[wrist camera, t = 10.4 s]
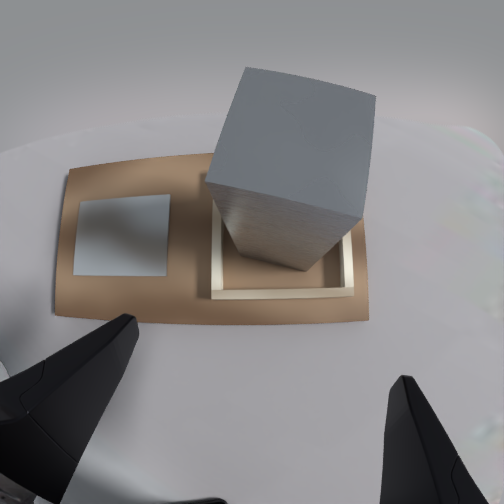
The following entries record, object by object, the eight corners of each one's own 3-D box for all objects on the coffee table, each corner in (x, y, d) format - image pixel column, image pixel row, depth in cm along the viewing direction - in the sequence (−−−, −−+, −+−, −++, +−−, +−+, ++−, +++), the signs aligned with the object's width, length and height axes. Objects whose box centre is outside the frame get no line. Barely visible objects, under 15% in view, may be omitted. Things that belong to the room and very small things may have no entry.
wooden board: (363, 319, 22) (374, 320, 19) (62, 315, 23) (46, 315, 20) (351, 159, 24) (359, 145, 22) (76, 174, 25) (62, 163, 23)
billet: (306, 271, 21) (362, 218, 8) (240, 255, 22) (204, 181, 9) (319, 208, 22) (376, 95, 9) (256, 193, 22) (245, 67, 10)
